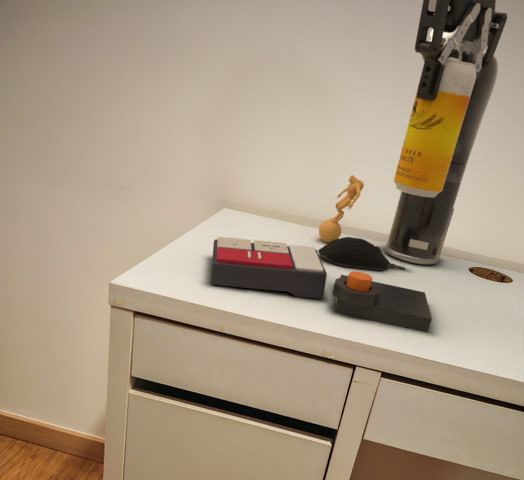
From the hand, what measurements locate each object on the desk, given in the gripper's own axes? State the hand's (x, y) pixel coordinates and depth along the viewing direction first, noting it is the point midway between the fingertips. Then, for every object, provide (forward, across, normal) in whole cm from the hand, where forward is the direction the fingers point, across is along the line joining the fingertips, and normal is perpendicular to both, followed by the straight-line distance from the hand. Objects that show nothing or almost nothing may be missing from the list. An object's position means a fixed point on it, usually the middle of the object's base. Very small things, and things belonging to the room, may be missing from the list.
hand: (441, 101), depth 69 cm
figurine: (+26, +15, +23) cm, 38 cm away
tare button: (+23, -7, 0) cm, 24 cm away
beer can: (+11, 0, 0) cm, 11 cm away
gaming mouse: (+26, +11, +13) cm, 31 cm away
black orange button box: (+26, -2, -1) cm, 26 cm away
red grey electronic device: (+26, -11, +13) cm, 31 cm away
